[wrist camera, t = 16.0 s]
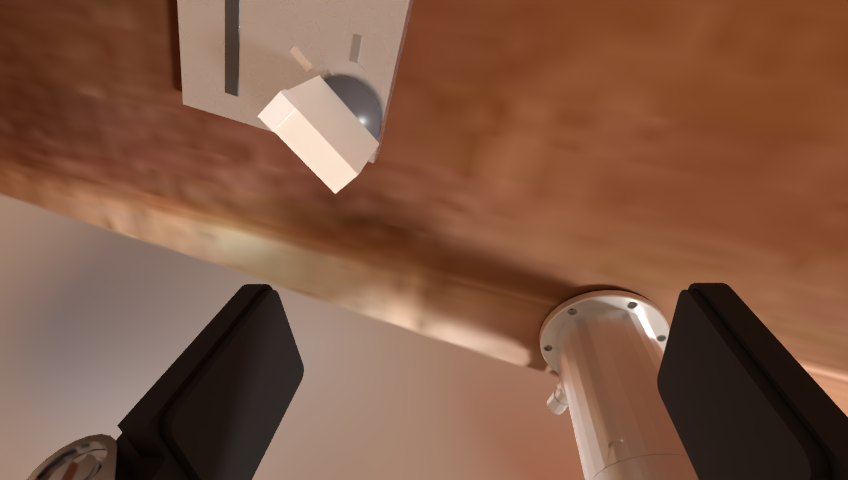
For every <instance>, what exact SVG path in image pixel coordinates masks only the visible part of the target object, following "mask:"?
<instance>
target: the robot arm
mask: <svg viewBox="0 0 848 480" xmlns="http://www.w3.org/2000/svg"><path fill="white" fill-rule="evenodd" d="M539 342H540V348H541V353H542V355H543V357H544V359H545V361H546V362H547V364H548V365H549V366H550V367H551V368H552V369H553V370H555V371H556V372H557V373H558V374H559V379H560V380H559V381H558V382H557V387H558V389H557V390H556V391H554V393H553V394H552V395H551V397H550V398H549V399H548V401H547V406H548V408H549V410H550V411H552V412H553V413H555V414H561V413H562V412H563V411H564V410H565V409H566V407H567V406H568V405H569V410H570V414H571V419H572V423H573V428H574V432H575V437H576V441H577V446H578V450H579V455H580V459H581V464H582V468H583V472H584V477H585V480H848V417H847V416H846V415H845V414H844V413H843V412H842V411H841V409H840V408H839V407H838V406H837V405H836V404H835V403H834V402H833V401H832V399H831V398H830V397H829V396H828V395H827V394H826V393H825V392H824V391H823V389H822V388H821V387H820V386H819V385H818V384H817V383H816V382H815V381H814V379H813V378H812V377H811V376H810V375H809V374H808V373H807V372H806V371H805V370H804V368H803V367H802V366H801V365H800V364H799V363H798V362H797V361H796V360H795V358H794V357H793V356H792V355H791V354H790V353H789V352H788V351H787V350H786V348H785V347H784V346H783V345H782V344H781V343H780V342H779V341H778V340H777V338H776V337H775V336H774V335H773V334H772V333H771V332H770V331H769V330H768V329H767V327H766V326H765V325H764V324H763V323H762V322H761V321H760V320H759V319H758V317H757V316H756V315H755V314H754V313H753V312H752V311H751V310H750V309H749V307H748V306H747V305H746V304H745V303H744V302H743V301H742V300H741V299H740V297H739V296H738V295H737V294H736V293H735V292H734V291H733V290H732V289H731V287H729V286H728V285H727V284H725V283H693V284H691V285H690V286H689V288H688V290H682V291H681V292H680V295H679V298H678V302H677V305H676V309H675V313H674V317H673V320H672V324H671V328H670V331H669V326H668V323H667V321H666V319H665V317H664V316H663V314H662V313H661V311H660V310H659V308H658V307H656V306H655V305H654V304H653V303H652V302H651V301H649V300H647V299H646V298H644V297H642V296H639V295H637V294H634V293H631V292H625V291H619V290H601V291H593V292H589V293H585V294H581V295H578V296H576V297H573V298H571V299H569V300H567V301H565V302H564V303H562V304H560V305H559V306H558V307H556V308H555V309H554V310H553V311H552V312H551V313H550V314H549V315H548V317H547V318H546V319H545V321H544V323H543V325H542V327H541V330H540V335H539ZM303 372H304V367H303V363H302V360H301V357H300V355H299V351H298V349H297V346H296V343H295V340H294V337H293V334H292V331H291V328H290V326H289V323H288V320H287V317H286V314H285V311H284V308H283V305H282V302H281V300H280V297H279V294H278V292H277V291H275V290H273V289H272V287H270V285H267V284H247V285H244V286H242V287H241V288H240V289H239V290H238V291H237V293H236V294H235V295H234V296H233V297H232V298H231V299H230V301H228V303H227V304H226V305H225V306H224V307H223V308H222V309H221V310H220V312H219V313H218V314H217V315H216V316H215V317H214V318H213V319H212V320H211V322H210V323H209V324H208V325H207V326H206V327H205V328H204V329H203V331H202V332H201V333H200V334H199V335H198V336H197V337H196V338H195V340H194V341H193V342H192V343H191V344H190V345H189V346H188V347H187V349H185V351H184V352H183V353H182V354H181V355H180V356H179V357H178V358H177V360H176V361H175V362H174V363H173V364H172V365H171V366H170V367H169V368H168V370H167V371H166V372H165V373H164V374H163V375H162V376H161V378H160V379H159V380H158V381H157V382H156V383H155V384H154V385H153V386H152V388H151V389H150V390H149V391H148V392H147V393H146V394H145V395H144V397H143V398H142V399H141V400H140V401H139V402H138V403H137V404H136V405H135V406H134V408H133V409H132V410H131V411H130V412H129V413H128V415H126V417H125V418H124V419H123V420H122V421H121V422H120V423H119V424H118V427H119V428H120V430H121V431H122V432H123V433H122V434H121V435H120V436H119V437H118V439H117V440H115V439H113V438H112V437H111V436H109V435H103V434H98V435H92V436H87V437H85V438H82V439H79V440H76V441H74V442H72V443H70V444H68V445H67V446H65V447H63V448H61V449H60V450H58V451H57V452H55V453H54V454H53V455H51V456H50V457H48V458H47V459H46V460H45V461H44V462H43V463H42V464H40V465H39V466H38V467H37V468H36V469H35V470H34V471H33V472H32V474H31V475H30V476H29V477H28V479H27V480H252V478H253V476H254V474H255V472H256V470H257V468H258V466H259V464H260V462H261V460H262V458H263V456H264V454H265V452H266V450H267V448H268V446H269V444H270V442H271V440H272V438H273V436H274V434H275V432H276V430H277V428H278V426H279V424H280V422H281V420H282V418H283V416H284V414H285V412H286V410H287V408H288V406H289V404H290V402H291V400H292V398H293V396H294V394H295V392H296V390H297V388H298V386H299V384H300V382H301V380H302V377H303Z"/></svg>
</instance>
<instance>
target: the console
mask: <svg viewBox="0 0 848 480" xmlns="http://www.w3.org/2000/svg"><path fill="white" fill-rule="evenodd" d="M413 2H414V0H177V5H178V23H179V40H180V58H181V76H182V93H183V104H184V105H188V106H191V107H194V108H197V109H201V110H204V111H207V112H210V113H214V114H217V115H220V116H223V117H226V118H230V119H233V120H236V121H239V122H243V123H246V124H249V125H252V126H256V127H259V128H262V129H265V130H268V131H272V130H271V129H270V128H269V127H268V126H267V125H266V124H265V123H264V122H263V121H262V120H261V119H260V118H259V117H258V115H259V114H260V113H261V112H262V111H263V109H264V108H265V107H266V106H267V105H268V104H269V103H270V102H271V101H272V100H273V99H274V97H275V96H276V95H277V94H278V93H279V92H280V91H282V90H284V89H286V90H289V89H291V88H293V87H295V86H297V85H300V84H302V83H304V82H306V81H308V80H310V79H312V78H315V77H317V76H319V75H320V77H321V78H322V79H323V80H324V79H326V78H329V77H334V76H344V77H349V78H352V79H354V80H356V81H358V82H360V83H362V84H363V85H364V86H365V87H367V88H368V89H369V90H370V92H371V93H372V94H373V95H374V97H375V99H376V100H377V102H378V105H379V108H380V111H381V117H382V124H381V130H380V133H379V136H378V138H377V141H378V143H379V145H378V147H377V148H376V150H375V151H374V153H373V154H372V156H371V157H370V158H369V160H368V161H369V162H372V163H374V162H375V160H376V159H377V157H378V156H379V152H380V148H381V143H382V139H383V135H384V130H385V126H386V121H387V117H388V112H389V108H390V104H391V99H392V95H393V90H394V86H395V81H396V77H397V73H398V68H399V64H400V59H401V55H402V50H403V46H404V42H405V37H406V33H407V28H408V24H409V19H410V15H411V10H412V6H413ZM273 132H274V131H273Z"/></svg>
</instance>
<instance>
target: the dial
mask: <svg viewBox="0 0 848 480" xmlns="http://www.w3.org/2000/svg"><path fill="white" fill-rule="evenodd" d="M258 117H259V118H260V119H261V120H262V121H263V122H264V123H265V124H266V125H267V126H268V127H269V128H270V129H271V130H272V132H273V131H274V132H275V133H276V134H277V135H278V136H279V137H280V138H281V139H282V140H283V141H284V142H285V143H286V144H287V145H288V146H289V147H290V148H291V149H292V150H293V151H294V152H295V153H296V154H297V155H298V156H299V157H300V158H301V159H302V161H303V162H304V163H305V164H306V165H307V166H308V167H309V168H310V169H311V170H312V171H313V172H314V173H315V174H316V175H317V176H318V177H319V178H320V179H321V180H322V181H323V182H324V183H325V184H326V185H327V186H328V187H329V188H330V189H331V190H332V191H333V192H334V193H335V194H336V193H337V192H338V191H339V190H341V189H342V188H343V187H344V186H345V185H347V184H348V183H349V182H350V181H351V180H353V179H354V178H355V177H356V176H357V175H358V174H359V173H360V172H361V170H362V169H363V167H364V166H365V164H366V163H367V161H368V160H369V158H370V157H371V156H372V154H373V153H374V151H375V150H376V148H377V147H378V145H379V143H378V141H377V138H378V136H379V133H380V130H381V124H382V117H381V111H380V108H379V105H378V102H377V100H376V99H375V97H374V95H373V94H372V93H371V92H370V90H369V89H368V88H367V87H365V86H364V85H363V84H362V83H360V82H358V81H356V80H354V79H352V78H349V77H344V76H334V77H329V78H326V79H324V80H323V79H322V78H321V77H320V75H319V76H317V77H315V78H312V79H310V80H308V81H306V82H304V83H302V84H300V85H297V86H295V87H293V88H291V89H289V90H286V89H284V90H282V91H280V92H279V93H278V94H277V95H276V96H275V97H274V99H273V100H272V101H271V102H270V103H269V104H268V105H267V106H266V107H265V108H264V109H263V111H262V112H261V113H260V114H259V115H258Z"/></svg>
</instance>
